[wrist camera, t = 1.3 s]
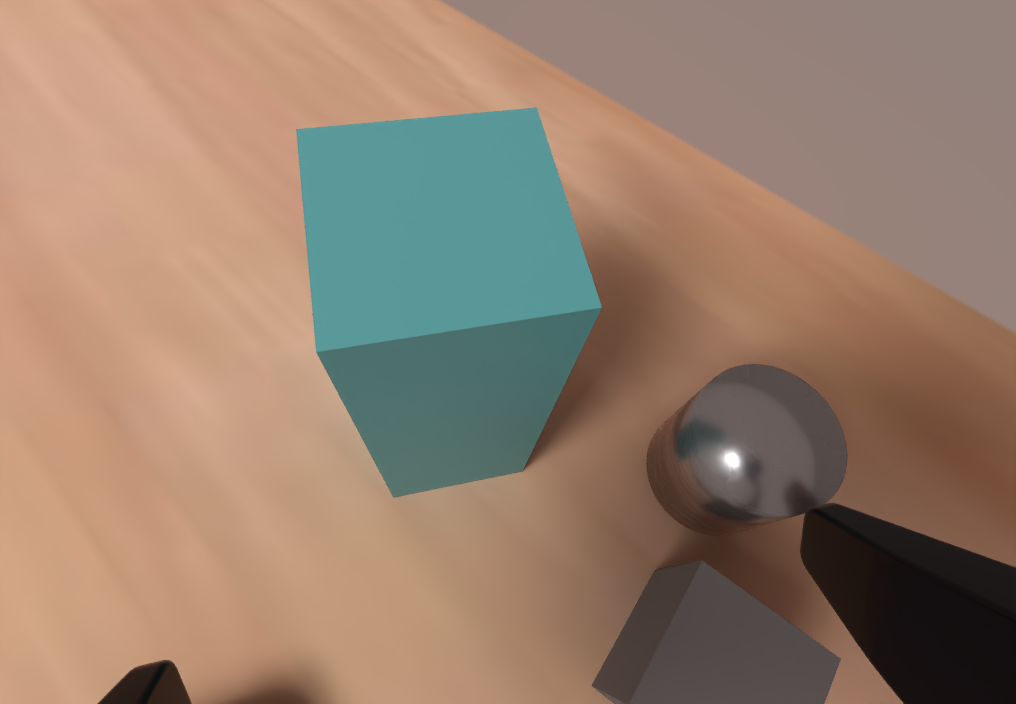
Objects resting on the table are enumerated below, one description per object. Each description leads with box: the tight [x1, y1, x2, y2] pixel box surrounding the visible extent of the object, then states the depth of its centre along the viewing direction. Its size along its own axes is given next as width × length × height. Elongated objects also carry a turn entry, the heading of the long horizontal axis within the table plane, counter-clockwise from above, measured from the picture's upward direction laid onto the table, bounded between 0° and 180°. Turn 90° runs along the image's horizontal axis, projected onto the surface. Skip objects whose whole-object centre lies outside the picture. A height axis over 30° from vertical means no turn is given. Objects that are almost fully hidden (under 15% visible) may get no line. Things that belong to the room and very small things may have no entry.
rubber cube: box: [592, 560, 841, 704], centre depth 17 cm, size 4×4×4 cm
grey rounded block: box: [647, 364, 847, 535], centre depth 20 cm, size 5×5×5 cm
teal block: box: [296, 108, 602, 497], centre depth 16 cm, size 5×5×13 cm
